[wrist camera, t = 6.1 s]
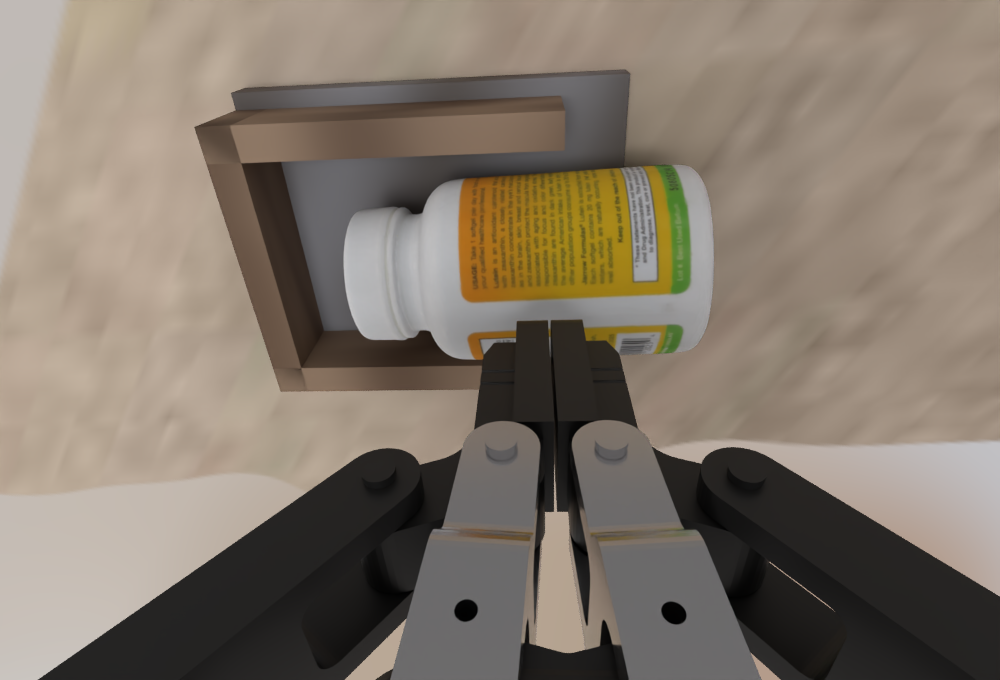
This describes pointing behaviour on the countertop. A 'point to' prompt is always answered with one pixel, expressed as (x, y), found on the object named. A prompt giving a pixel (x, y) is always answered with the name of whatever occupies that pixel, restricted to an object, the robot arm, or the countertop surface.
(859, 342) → the countertop surface
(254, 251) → the u rest
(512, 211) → the supplement bottle
